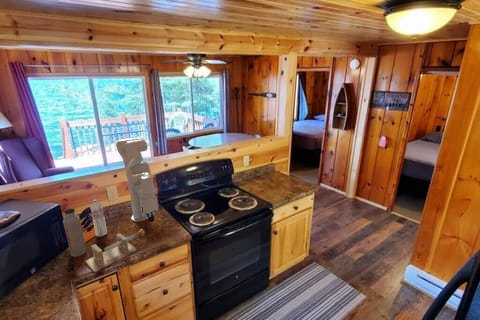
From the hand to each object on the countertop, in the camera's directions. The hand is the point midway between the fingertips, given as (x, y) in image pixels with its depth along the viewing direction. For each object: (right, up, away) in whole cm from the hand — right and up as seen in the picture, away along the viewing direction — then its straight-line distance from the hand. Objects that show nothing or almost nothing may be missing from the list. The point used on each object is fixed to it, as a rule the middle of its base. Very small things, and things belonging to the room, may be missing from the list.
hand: (151, 221), depth 165 cm
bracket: (-18, -17, -16) cm, 29 cm away
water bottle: (-35, -10, +6) cm, 37 cm away
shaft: (-12, -11, -11) cm, 19 cm away
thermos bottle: (-39, -16, -12) cm, 44 cm away
